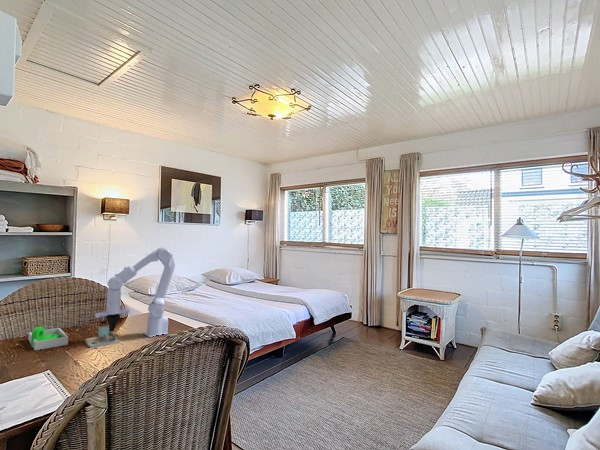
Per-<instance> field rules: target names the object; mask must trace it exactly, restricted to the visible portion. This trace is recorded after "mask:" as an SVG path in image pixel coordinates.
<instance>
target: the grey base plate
mask: <svg viewBox="0 0 600 450" xmlns="http://www.w3.org/2000/svg"><path fill="white" fill-rule="evenodd" d="M118 336H119V334H118V333H114V332H113V331H109V336H108V339H112V338H113V339H115V338H116V339H118V338H119V337H118ZM100 340H106V337H105V336H104V337H99V336H98V335H97V336H93V337H87V338H85V339H84V343H85V344H86V345H87V343H89V342H95V341H100ZM118 340H119V339H118Z"/></svg>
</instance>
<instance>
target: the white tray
mask: <svg viewBox="0 0 600 450" xmlns="http://www.w3.org/2000/svg"><path fill="white" fill-rule="evenodd" d="M32 332H33V331H29V332H28V340H27V341H28V342H29V344H31V338H32ZM49 334H59V335H60V338H55V339H49V340H42V341H37V340H36V339H33V347H32V348H33V350H34V351H39V350H40V349H41V350H44V349H51V348H57V347H62V346H68V345H69V336H68V335H67V334H66V333H65V332H64V330H62V329H61V328H60V327H56V328H49V329H45V336H47V335H49Z"/></svg>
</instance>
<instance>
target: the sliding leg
mask: <svg viewBox="0 0 600 450" xmlns="http://www.w3.org/2000/svg"><path fill="white" fill-rule="evenodd" d="M97 332H98V335H97V337H98V336H99V337H104V336H105V337H106V340H108V336H109V332H110V329H109V325H103V326H98V331H97Z"/></svg>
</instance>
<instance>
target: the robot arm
mask: <svg viewBox="0 0 600 450" xmlns="http://www.w3.org/2000/svg"><path fill="white" fill-rule="evenodd" d="M158 261H160V263H161V264H162V265H163V271H162V273H161V277H160V280H159V282H158V286H157V289H156V292H155V295H154V297H153V298H152V301H151V303H150V304H149V305H148V308H147V311H148V312H149V314H148V315H147V323H146V331H145V332H143V335H145V336H147V337H148V338H152V337H153V336H154V337H157V336H156V335H159V336H163V335H162V334H164V335H169V332H168V331H169V318H168V316H167V315H164V312H165V310H164V308H165V307H164V306H165V299H166V297H167V296H166V295H167V293H168V290H169V287H170V284H171V280H172V278H173V275H174V271H175V268H176V263H175V260H174V257H173V254H172V252H171V251H170V250H169V249H167V248H164V247H159V248H157V249H156V250H153V251H152V252H150V253H149V254H147V255H146V256H145V257H143V258H142V259H141V260H139V261H138V262H137V263H135V264H134V265H133V266H129V265H128V266H125V267H123V269H122V270H121V271H120V272H118V273H115V274H114V276H112V277H110V278H109V280H108V281H107V286H108V289H107V294H106V295H107V298H106V310H104V311H100V312H95V315H94V318H96V319H97V318H103V317H105V319H106V321H107V323H108V327H109V332H114V331H115V328H116V326H117V323H119V320H120V319H121V315H125V314H127V315H128V314H131V309H129V308H125V309H121V301H122V299H121V298H122V292H121V291H122V290H121V289H122V287H123V285H124V284H126V283H128V282H129V281H130V280H132V279H133V278H135V277H136V276H137V274H138V272H139V271H140V270H142V269H143V268H145V267H146V266H147V265H149V264H150V263H152V262H153V263H154V262H158ZM154 337H153V338H154Z"/></svg>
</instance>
